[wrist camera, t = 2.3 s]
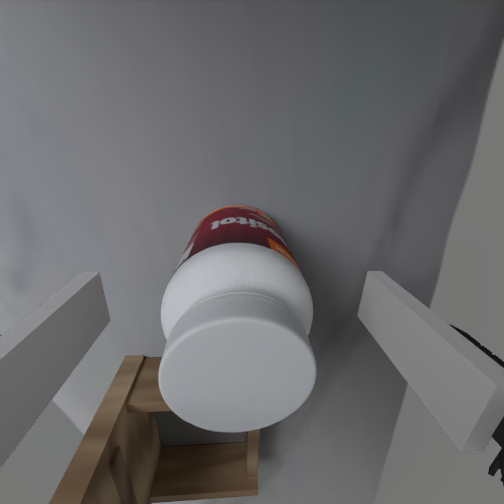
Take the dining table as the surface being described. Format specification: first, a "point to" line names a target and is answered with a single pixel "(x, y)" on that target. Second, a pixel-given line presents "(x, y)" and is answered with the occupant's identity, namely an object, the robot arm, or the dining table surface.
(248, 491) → the brown wooden l-shaped frame
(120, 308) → the dining table surface
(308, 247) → the dining table surface
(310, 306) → the pill bottle
